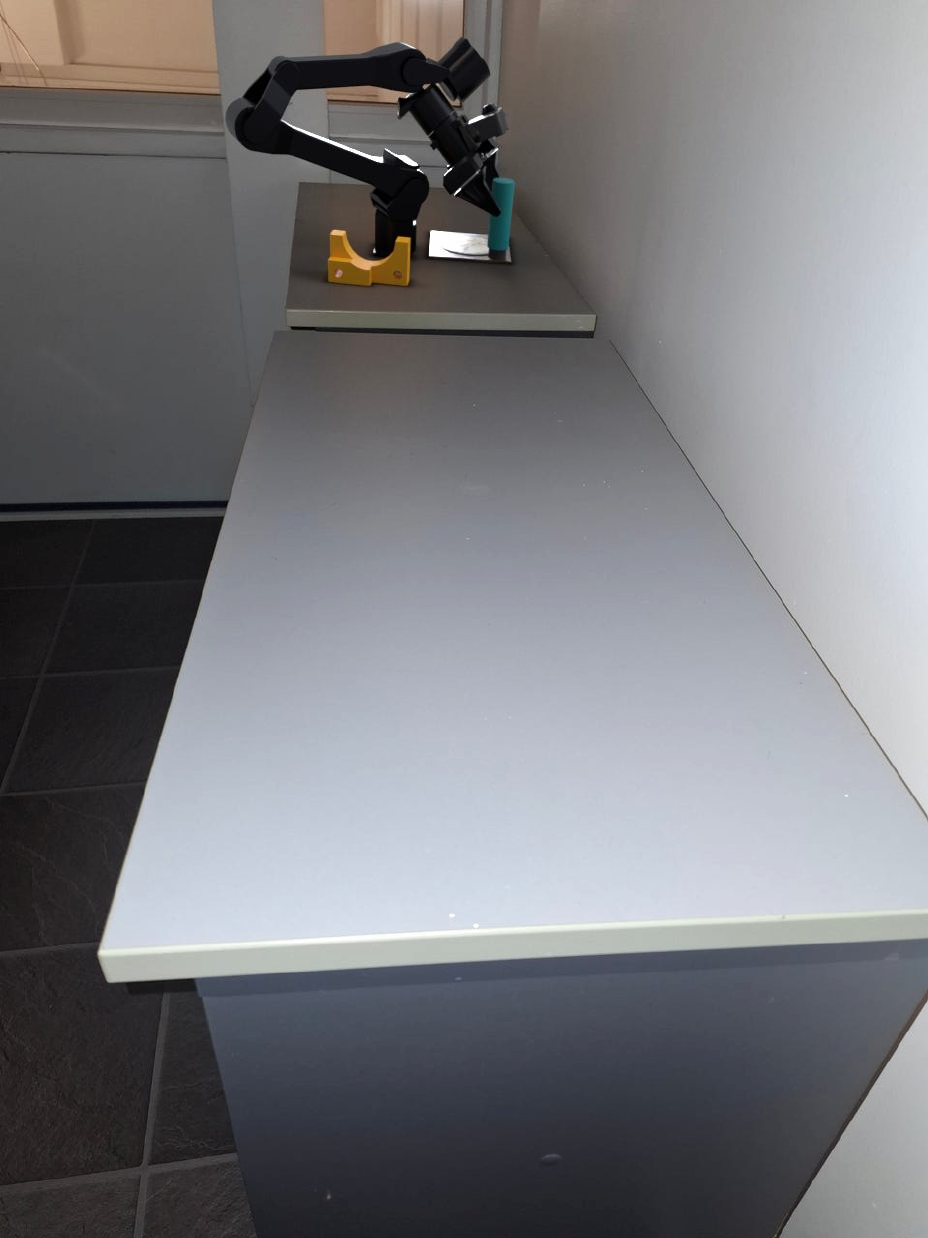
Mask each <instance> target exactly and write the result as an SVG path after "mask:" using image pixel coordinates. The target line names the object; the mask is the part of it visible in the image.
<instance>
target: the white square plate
mask: <svg viewBox="0 0 928 1238" xmlns="http://www.w3.org/2000/svg"><path fill="white" fill-rule="evenodd" d="M487 242H488V234H479V233H478V234H477V233H467V232H466V233H465V232H452V231H438V230H430V237H429V251H428V259H434V260H435V259H437V260H447V261H448V260H449V261H461V262H462V261H464V262H478V263H488V264H489V263H491V264H493V263H494V264H503V265H512V257H511V249H510V244H509V245H508V249H507V250H506V258H505V259H502V260H495V259H491V258H489V257H488V251H489V248H488V247H487Z"/></svg>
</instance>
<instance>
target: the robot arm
mask: <svg viewBox="0 0 928 1238" xmlns="http://www.w3.org/2000/svg"><path fill="white" fill-rule="evenodd" d="M490 77H491V71H490V68H489V65H488V64H487V61H486V60H485V58H483V57H482V55H480V53H479V52H478V51H477V49H475V47H473V45H471V43H470V41H469V39H468V38H466V37H463V36H460V37H459V38H458V39H457V40H456V41H455V42H454V44H453V45H452V46H451V48H450V49H449V50H448V51H447V52H446V53H445V54H444V55H443V56H442V57H441V58H440V59H439V60H438V61H437V60H434V59H432V58H430V57H426V55H425V54H424V53H423V52H422V50H420V49H418V48H416V47H413V46H411V45H409V44H407V43H405V42H400V41H395V42H391V43H387V44H384V45H380V46H377V47H374V48H372V49H370V50H368V51H366V52H362V53H351V54H331V55H328V54H327V55H311V56H310V55H309V56H307V55H306V56H290V57H289V56H284V55H277V56H274V57H273V58H272V59H271V60H270V62H269V64H268V65H267V66H266V68H265V69H264V71H263V72H262V73H261V74H260V75H259V76H258V77H257V78H256V79H255V80H254V81H253V82H252V83H251V84H250V85H249V86H248V87H247V89H246V90H245V92H244V94H243V95H242V96H241V97H237V98H236V99H234V100H233V101H231V102H230V104H229V105H228V106H227V108H226V112H225V124H226V128H227V129H228V131H229V133H230V135H231V136H232V137H233V138H234V139H235V140H237V142H239V144H240V145H241V146H242V147H244V148H245V149H246V150H248V151H251V152H254V153H255V152H256V153H261V154H267V155H278V156H291V157H295V158H296V159H300V160H303V161H305V162H308V163H311V164H313V165H315V166H318V167H321V168H325V169H327V170H330V171H333V172H335V173H337V174H341V175H343V176H346V177H348V178H351V179H354V180H357V181H359V182H362V183H365V184H368V185H370V186H372V187H373V189H372V190H371V192H369V198H370V201H371V203H372V206H373V208H375V213H374V249H373V256H375V257H386V258H387V257H388V256H390V255H391V254H392V252H393V251H394V248H395V241H396V239H397V238H398V237H408V238H411V241H410V259H412V258H413V256H414V253H415V252H416V250H417V238H418V237H417V234H418V223H417V221H416V220H417V219H418V217H419V215H420V212H421V208H422V206H423V204H424V203H425V202H426V200H427V198H428V196H429V194H430V181H429V179H428V176H427V175H426V173H424V172H423V171H422V170H420V165H419V164H418V163H417V162H415V161H414V160H412V159H411V158H409V157H408V156H406V155H404V154H403V155H398V154H395V153H393V152H391V151H390V150H388V149H387V148H383V154H382V156H372V155H369V154H366V153H363V152H360V151H359V150H356V149H353V148H350V147H348V146H346V145H343V144H340V143H338V142H335V141H333V140H330V139H328V138H325V137H322V136H320V135H317V134H315V133H312V132H310V131H306V130H305V129H302V128H300V127H297V126H294V125H292V124H290V123H288V122H287V121H285V120H284V119H282V118H283V117H284V115H285V112H286V110H287V108H288V107H289V104H290V102H291V100H292V98H293V96H294V94H295V93H296V92H297V91H304V90H305V91H308V90H322V89H324V90H325V89H336V88H337V89H338V88H339V89H341V88H357V87H374V88H379V89H384V90H389V91H392V92H399V93H400V92H401V93H406V94H408V95H407V96H406V97H402V96H398V98H397V99H396V104H397V114H396V118H397V120H399V121H400V120H402V119H403V118H404V117H405V116H406V115H407V114H408V113H410V115H411V117H412V118H413V119H414V121H415V122H416V124H417V125H418V126H419V127H420V129H421V130H422V131H423V132H424V134H425V135H426V137H428V139H429V141H430V142H431V143H430V144H429V147H430V148H431V149H432V150H433V151H435V150H437V151H438V153H439V154H440V155H441V157H442V158H443V159H444V161H445V162H446V163H447V164H448V165H447V167H446V169H447V172H446V173H445V174H444V175H442V186H443V188H444V189H445V191H446V192H447V193H448V194H449V196H450V197H451V196H452V195H453V194H454V197H455V198H459V199H460V200H463V201H465V202H467V203H469V204H470V205H473V206H474V207H477V208H479V209H481V210H482V211H484V212H486V213H487V214H489V215H490V214H491V215H493V216H495V217H498V216H499V215H500V214H501V210H500V208H499V206H498V204H497V202H496V200H495V198H494V197H493V195H492V183H493V179H494V178H502V176H501V173H500V171H499V168H498V165H497V161H498V154H499V148H497V146H498V145H499V144H498V143H497V141H496V140H495V139H494V137H495V138H498V137H501V136H503V135H505V134H506V133H507V131H508V130H509V126H508V123H507V120H506V116H507V114H506V113H505V112H504V109H503V107H499V108H498V106H497V105H495V104H494V102H491V103H488V104H486V105H484V106H483V107H482V111H481V115H478V116H477V117H474V118H473V119H469V118H468V116H467V115H466V114H463V113H461V114H460V115H459V113H458V111H457V110H456V109H455V107H454V106H453V105H452V103H451V102H455V101H456V100H458V101H459V102H461V103H465V102H466V100H467V99H468V98H469V97H471V95H473V93H475V92H476V90H478V89H479V88H480V87H481V86H482V85H483V84H484V83H485V82H486V81H487V80H488V79H489V78H490ZM425 85H428V86H426V88H424V86H425ZM439 86H440V87H439ZM449 100H450V101H451V102H450V101H449ZM493 150H494V151H493ZM491 151H493V152H492V153H491Z"/></svg>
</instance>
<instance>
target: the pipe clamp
mask: <svg viewBox="0 0 928 1238" xmlns="http://www.w3.org/2000/svg"><path fill="white" fill-rule="evenodd" d="M410 241H411V238H408V237H398V238H397V239H396V241H395V248H394V251H393V252H392V254H391V255H390V256H388V257H387V256H386V257H385V258H383V259H379V260H369V259H365V258H363V257H361V256H360V255H359V254H357V253H356V252H355V250H354V249H353V248H352V246H351V245H350V242H349V240H348V236H347V231H346V230H342V229H341V230H340V229H332V230H331V232H330V233H329V254H330V257H329V258H328V259H327V271H328V272H327V279H328V282H329V283H336V284H337V283H338V284H348V285H357V286H365V287H370V286H371V285H372V283H374V284H385V285H393V286H402V287H403V286H404V287H408V284H409V283H410V274H411V273H410V272H411V271H410V270H411V269H410V268H411V258H410ZM397 271H399V272H400V273H398V272H397Z"/></svg>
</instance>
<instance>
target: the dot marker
mask: <svg viewBox="0 0 928 1238" xmlns="http://www.w3.org/2000/svg"><path fill="white" fill-rule="evenodd" d="M515 184H516V181H515V180H514V179H512V178H508V177H501V178H494V179H493V183H492V195H493V197H494V198H495V200H496V202H497V204H498V206H499V208H500V210H501V214H500V215H499V216H498V217H495V216H493V215H491V214H489V219H488V232H487V235H488V242H487V247H488V248H489V251H488V257H489V258H491V259H495V260H502V259H505V258H506V250H507V249H508V245H509V246H510V233H511V224H512V223H511V222H512V215H513V205H514V195H515Z"/></svg>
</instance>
